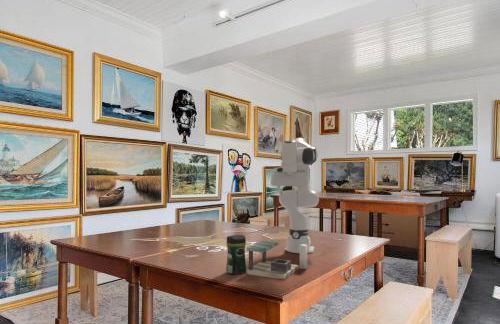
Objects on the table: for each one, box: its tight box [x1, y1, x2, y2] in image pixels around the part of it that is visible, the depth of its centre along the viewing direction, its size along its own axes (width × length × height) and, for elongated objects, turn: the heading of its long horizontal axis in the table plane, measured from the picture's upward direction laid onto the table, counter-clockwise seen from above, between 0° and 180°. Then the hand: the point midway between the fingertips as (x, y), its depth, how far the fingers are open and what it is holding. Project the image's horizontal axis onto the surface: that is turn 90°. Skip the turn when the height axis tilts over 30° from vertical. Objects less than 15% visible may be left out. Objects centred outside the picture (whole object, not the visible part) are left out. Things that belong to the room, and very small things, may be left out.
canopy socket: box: [246, 240, 299, 281], centre depth 173 cm, size 20×20×13 cm
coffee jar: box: [225, 234, 247, 275], centre depth 171 cm, size 10×8×19 cm
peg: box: [299, 244, 308, 270], centre depth 180 cm, size 4×4×12 cm
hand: (289, 194), depth 188 cm, fingers open, 8 cm apart
